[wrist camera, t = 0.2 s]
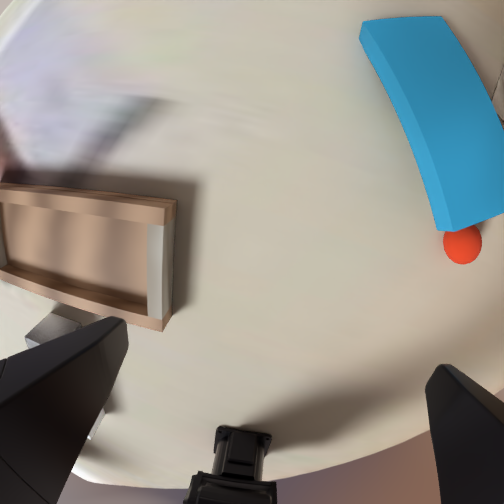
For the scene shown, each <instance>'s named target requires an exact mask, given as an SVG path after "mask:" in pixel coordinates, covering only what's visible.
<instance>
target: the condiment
mask: <svg viewBox="0 0 504 504" xmlns="http://www.w3.org/2000/svg"><path fill="white" fill-rule="evenodd" d="M492 104H493V106H494V108H495V111H496V113H497V114H498V115H499V116H500V118H501V119H502V120H503V121H504V67H503V69H502V72H501V75H500V78H499V80H498V84H497V88H496V90H495V93H494V96H493V99H492Z"/></svg>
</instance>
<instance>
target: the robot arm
mask: <svg viewBox="0 0 504 504" xmlns="http://www.w3.org/2000/svg"><path fill="white" fill-rule="evenodd" d="M128 345H129V342H128V333H127V324H126V321H125V320H124V319H123V318H119V317H115V316H109V317H107V318H104V319H102V320H99V321H97V322H95V323H92V324H90V325H87V326H85V327H82V328H80V329H77V330H75V331H72V332H70V333H67V334H65V335H62V336H60V337H57V338H55V339H52V340H50V341H48V342H45V343H43V344H40V345H38V346H35V347H33V348H30V349H28V350H25V351H23V352H20V353H18V354H15V355H13V356H10V357H8V358H7V359H6V358H5V359H2V360H0V504H56V503H57V501H58V499H59V497H60V494H61V492H62V490H63V488H64V485H65V483H66V481H67V479H68V477H69V475H70V472H71V470H72V468H73V466H74V464H75V462H76V460H77V458H78V456H79V454H80V452H81V449H82V447H83V445H84V443H85V441H86V439H87V437H88V435H89V433H90V431H91V429H92V428H93V426H94V424H95V422H96V420H97V418H98V416H99V414H100V412H101V410H102V408H103V406H104V404H105V403H106V401H107V399H108V397H109V395H110V392H111V390H112V388H113V385H114V383H115V380H116V377H117V375H118V372H119V370H120V367H121V365H122V363H123V360H124V358H125V355H126V353H127V350H128ZM425 393H426V400H427V408H428V416H429V425H430V432H431V438H432V443H433V449H434V454H435V460H436V466H437V473H438V480H439V488H440V496H441V504H504V403H503V402H502V401H501V400H499V399H498V398H497V397H495V396H494V395H493V394H491V393H490V392H488V391H487V390H486V389H484V388H483V387H482V386H480V385H479V384H478V383H476V382H475V381H473V380H472V379H471V378H469V377H468V376H466V375H465V374H464V373H462V372H461V371H459V370H458V369H457V368H455V367H454V366H452V365H451V364H440V365H438V366H437V367H436V369H435V371H434V372H433V374H432V376H431V377H430V379H429V380H428V382H427V384H426V387H425ZM271 440H272V436H271V435H269V434H261V433H254V432H247V431H240V430H234V429H228V428H223V427H218V428H217V429H216V436H215V444H214V453H215V459H214V464H213V469H212V473H211V474H209V473H204V472H202V471H198V474H197V475H192V479H191V483H190V487H189V489H188V492H187V494H186V496H185V499H184V501H183V504H277V488H276V482H275V481H274V482H273V481H271V482H266V481H262V472H263V461H264V457H265V455H266V452H267V450H268V448H269V445H270V443H271Z"/></svg>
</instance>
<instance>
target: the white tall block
mask: <svg viewBox="0 0 504 504" xmlns="http://www.w3.org/2000/svg"><path fill="white" fill-rule="evenodd" d="M80 328H82V327H81V323H78V322H75V321H72V320H69V319H67V318H64V317H61V316H59V315H56V314H53V313H49V314H48V315H47V316H46V317H45V318H44V319H43V320H42V321H41V322H40V323H39V324H37V325H36V326H35V327H34V328H33V329H32V330H31V331H30V332H29V333H28V334H27V335H26V336H25V340H26V343H27V345H28V348H29V349H30V348H33V347H35V346H38V345H40V344H43V343H45V342H48V341H50V340H52V339H55V338H57V337H60V336H62V335H65V334H67V333H70V332H72V331H75V330H77V329H80ZM104 416H105V412H104V409H103V408H102V410H101V412H100V414H99V416H98V418H97V420H96V422H95V424H94V426H93V428H92V429H91V431H90V433H89V435H88V437H87V438H88V439H90V440H91V439H92V437H93V435H94V434H95V432H96V430H97V428H98V426H99V425H100V423H101V421H102V419H103V417H104Z"/></svg>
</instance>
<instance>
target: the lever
mask: <svg viewBox="0 0 504 504" xmlns="http://www.w3.org/2000/svg"><path fill="white" fill-rule="evenodd" d="M359 40H360V42H361V44H362V46H363V48H364V51H365V53H366V54H367V56H368V58H369V60H370V61H371V63H372V65H373V67H374V68H375V70H376V72H377V74H378V76H379V78H380V80H381V82H382V84H383V85H384V87H385V89H386V91H387V93H388V96H389V98H390V100H391V102H392V104H393V106H394V108H395V110H396V113H397V115H398V117H399V119H400V122H401V124H402V126H403V129H404V131H405V133H406V136H407V138H408V141H409V143H410V146H411V148H412V151H413V154H414V156H415V159H416V162H417V165H418V167H419V170H420V173H421V176H422V179H423V182H424V185H425V189H426V192H427V195H428V198H429V202H430V205H431V209H432V212H433V216H434V220H435V224H436V228H437V230H438V231H446V232H445V234H444V239H443V244H444V250H445V252H446V254H447V256H448V257H449V258H450V259H451V260H452V261H453V262H455V263H458V264H467V263H470V262H472V261H474V260H475V259H476V258H477V256H478V255H479V253H480V251H481V247H482V238H481V235H480V232H479V230H478V229H477V227H476V226H475V225H474V224H477V223H479V222H482V221H484V220H487V219H489V218H492V217H494V216H497V215H499V214H502V213H504V130H503V128H502V125H501V123H500V120H499V118H498V115H497V113H496V111H495V108H494V106H493V104H492V102H491V100H490V97H489V95H488V93H487V91H486V89H485V87H484V85H483V83H482V81H481V79H480V77H479V75H478V74H477V72H476V70H475V68H474V66H473V65H472V63H471V61H470V59H469V58H468V56H467V54H466V53H465V51H464V49H463V48H462V46H461V45H460V43H459V41H458V40H457V38H456V37H455V35H454V34H453V32H452V31H451V29H450V28H449V26H448V25H447V24H446V22H445V21H444V19H443V18H442V17H441V16H422V17H401V18H388V19H378V20H370V21H363V23H362V27H361V32H360V36H359Z"/></svg>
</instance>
